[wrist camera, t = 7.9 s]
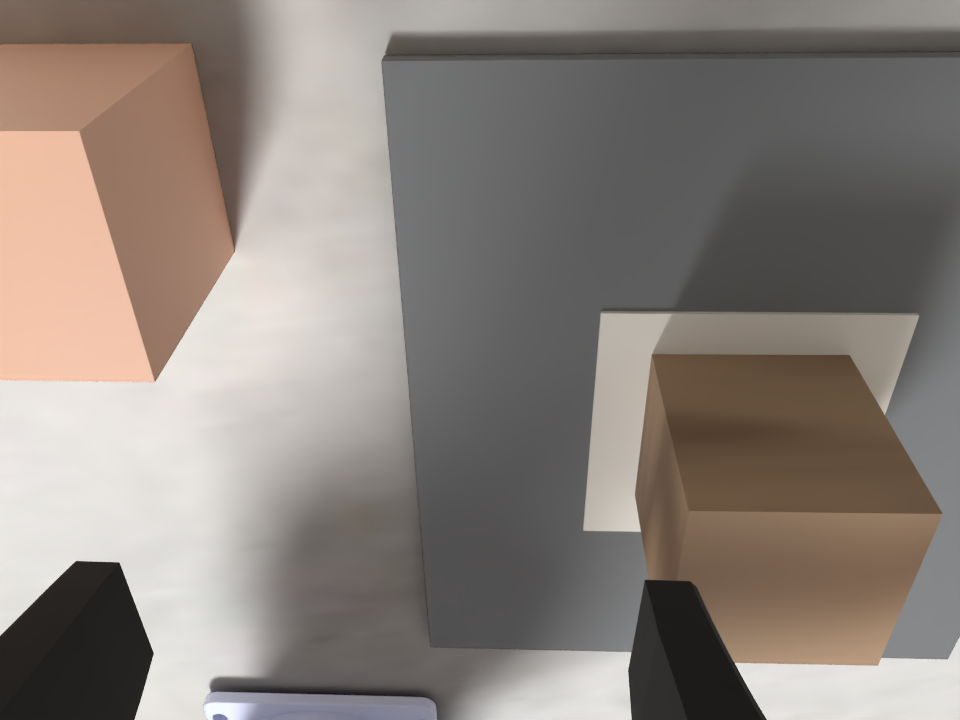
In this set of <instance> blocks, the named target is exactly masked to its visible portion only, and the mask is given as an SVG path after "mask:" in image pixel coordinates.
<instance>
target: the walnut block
mask: <svg viewBox="0 0 960 720" xmlns="http://www.w3.org/2000/svg"><path fill="white" fill-rule="evenodd" d="M635 499H636V505H637V511H638V517H639V523H640V530H641V536H642V542H643V548H644V554H645V560H646V566H647V572H648V578H649V580H670V581H691V582H692V583H693V584H694V585H695V586H696V587H697V588H698V591H699V593H700V595H701V597H702V600H703V602H704V604H705V606H706V608H707V610H708V612H709V614H710V617H711V619H712V621H713V623H714V625H715V627H716V629H717V631H718V633H719V635H720V637H721V639H722V641H723V643H724V645H725V646H726V648H727V650H728V652H729V654H730V656H731V658H732V660H733V661H734V663H777V664H826V665H875V666H878V664H879V661H880V659H881V657H882V654H883V652H884V650H885V647H886V645H887V643H888V640H889V638H890V636H891V633H892V631H893V629H894V626H895V624H896V622H897V619H898V617H899V615H900V613H901V610H902V608H903V606H904V603H905V601H906V599H907V596H908V594H909V592H910V589H911V587H912V585H913V582H914V580H915V578H916V575H917V573H918V571H919V568H920V566H921V564H922V561H923V559H924V557H925V554H926V552H927V550H928V547H929V545H930V543H931V540H932V538H933V536H934V534H935V531H936V529H937V527H938V524H939V522H940V520H941V517H942V515H943V513H942V512H941V510H940V508H939V507H938V505H937V503H936V502H935V500H934V498H933V496H932V495H931V493H930V491H929V490H928V488H927V486H926V484H925V483H924V481H923V479H922V478H921V476H920V474H919V473H918V471H917V469H916V467H915V466H914V464H913V462H912V461H911V459H910V457H909V455H908V454H907V452H906V450H905V449H904V447H903V445H902V444H901V442H900V440H899V438H898V437H897V435H896V433H895V432H894V430H893V428H892V426H891V425H890V423H889V421H888V420H887V418H886V416H885V415H884V413H883V411H882V409H881V408H880V406H879V404H878V403H877V401H876V399H875V397H874V396H873V394H872V392H871V391H870V389H869V387H868V386H867V384H866V382H865V380H864V379H863V377H862V375H861V374H860V372H859V370H858V368H857V367H856V365H855V363H854V362H853V360H852V358H851V357H850V355H725V354H652V356H651V364H650V372H649V381H648V389H647V397H646V406H645V414H644V422H643V430H642V439H641V447H640V455H639V463H638V472H637V480H636V488H635Z"/></svg>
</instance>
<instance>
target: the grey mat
mask: <svg viewBox="0 0 960 720" xmlns="http://www.w3.org/2000/svg"><path fill="white" fill-rule="evenodd" d="M382 73H383V85H384V97H385V109H386V121H387V133H388V145H389V157H390V169H391V181H392V193H393V205H394V217H395V229H396V241H397V253H398V265H399V277H400V289H401V301H402V313H403V325H404V336H405V348H406V360H407V372H408V384H409V396H410V408H411V420H412V432H413V444H414V456H415V468H416V480H417V492H418V504H419V516H420V528H421V540H422V552H423V564H424V576H425V588H426V600H427V612H428V624H429V636H430V647H442V648H485V649H528V650H571V651H614V652H632V648H633V642H634V637H635V631H636V626H637V620H638V614H639V609H640V603H641V598H642V592H643V587H644V581H645V580H649V578H648V572H647V566H646V560H645V554H644V548H643V542H642V536H641V530H640V523H639V517H638V511H637V505H636V499H635V488H636V480H637V472H638V463H639V455H640V447H641V439H642V430H643V422H644V414H645V406H646V397H647V389H648V381H649V372H650V364H651V356H652V354H725V355H850V357H851V358H852V360H853V362H854V363H855V365H856V367H857V368H858V370H859V372H860V374H861V375H862V377H863V379H864V380H865V382H866V384H867V386H868V387H869V389H870V391H871V392H872V394H873V396H874V397H875V399H876V401H877V403H878V404H879V406H880V408H881V409H882V411H883V413H884V415H885V416H886V418H887V420H888V421H889V423H890V425H891V426H892V428H893V430H894V432H895V433H896V435H897V437H898V438H899V440H900V442H901V444H902V445H903V447H904V449H905V450H906V452H907V454H908V455H909V457H910V459H911V461H912V462H913V464H914V466H915V467H916V469H917V471H918V473H919V474H920V476H921V478H922V479H923V481H924V483H925V484H926V486H927V488H928V490H929V491H930V493H931V495H932V496H933V498H934V500H935V502H936V503H937V505H938V507H939V508H940V510H941V512H942V513H943V515H942V517H941V520H940V522H939V524H938V527H937V529H936V531H935V534H934V536H933V538H932V540H931V543H930V545H929V547H928V550H927V552H926V554H925V557H924V559H923V561H922V564H921V566H920V568H919V571H918V573H917V575H916V578H915V580H914V582H913V585H912V587H911V589H910V592H909V594H908V596H907V599H906V601H905V603H904V606H903V608H902V610H901V613H900V615H899V617H898V619H897V622H896V624H895V626H894V629H893V631H892V633H891V636H890V638H889V640H888V643H887V645H886V647H885V650H884V652H883V654H882V657H881V658H913V659H948V658H949V656H950V654H951V652H952V650H953V648H954V646H955V644H956V642H957V640H958V639H959V637H960V52H845V53H693V54H542V55H391V56H384V57H383V59H382Z"/></svg>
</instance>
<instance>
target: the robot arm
mask: <svg viewBox="0 0 960 720" xmlns="http://www.w3.org/2000/svg"><path fill="white" fill-rule="evenodd" d="M153 654H154V653H153V650H152V648H151V645H150V642H149V640H148V637H147V635H146V632H145V629H144V627H143V624H142V621H141V619H140V616H139V613H138V611H137V608H136V605H135V603H134V600H133V597H132V595H131V592H130V590H129V587H128V584H127V582H126V579H125V576H124V574H123V571H122V568H121V566H120V563H116V562H85V561H76V562H75V563H74V564H73V565H72V566H70V567H69V568H68V569H67V570H66V571H65V572H64V573H63V574H62V575H61V576H60V577H59V578H58V579H57V580H56V581H55V582H54V583H53V584H52V585H51V586H50V587H49V588H48V589H47V590H46V591H45V592H44V593H43V594H42V595H41V596H40V597H39V598H38V599H37V600H36V601H35V602H34V603H33V604H32V605H31V606H30V607H29V608H28V609H27V610H26V611H25V612H24V613H23V614H22V615H21V616H20V617H19V618H18V619H17V620H16V621H15V622H14V623H13V624H12V625H11V626H10V627H9V628H8V629H7V630H6V631H5V632H4V633H3V634H2V635H1V636H0V720H134V719H135V716H136V712H137V709H138V706H139V703H140V700H141V696H142V693H143V690H144V686H145V682H146V679H147V675H148V672H149V668H150V665H151V661H152V657H153ZM628 672H629V686H630V700H631V714H632V720H766V718H765V716H764V715H763V713H762V711H761V710H760V708H759V706H758V705H757V703H756V701H755V699H754V698H753V696H752V694H751V692H750V691H749V689H748V687H747V685H746V684H745V682H744V680H743V678H742V676H741V674H740V673H739V671H738V669H737V667H736V665H735V663H734V661H733V660H732V658H731V656H730V654H729V652H728V650H727V648H726V646H725V645H724V643H723V641H722V639H721V637H720V635H719V633H718V631H717V629H716V627H715V625H714V623H713V621H712V619H711V617H710V614H709V612H708V610H707V608H706V606H705V604H704V602H703V600H702V597H701V595H700V593H699V591H698V588H697V587H696V586H695V585H694V584H693V583H692V582H691V581H670V580H645V581H644V587H643V592H642V598H641V603H640V609H639V614H638V620H637V626H636V631H635V637H634V642H633V648H632V653H631V659H630V664H629V670H628ZM203 709H204V711H205V714H206V717H207V720H437V711H436V705H435V703H434V702H433V701H432V700H431V699H428V698H425V697H404V696H365V695H327V694H288V693H249V692H212V693H210V694H208V695H207V696H206V698H205V701H204V704H203Z"/></svg>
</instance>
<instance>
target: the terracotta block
mask: <svg viewBox="0 0 960 720" xmlns="http://www.w3.org/2000/svg"><path fill="white" fill-rule="evenodd" d="M234 252H235V250H234V245H233V240H232V235H231V231H230V226H229V221H228V216H227V211H226V207H225V202H224V197H223V192H222V187H221V183H220V178H219V173H218V168H217V163H216V159H215V154H214V149H213V144H212V139H211V134H210V130H209V125H208V120H207V115H206V110H205V106H204V101H203V96H202V91H201V86H200V82H199V77H198V72H197V67H196V62H195V57H194V53H193V48H192V43H111V44H0V380H29V381H109V382H155V381H156V380H157V378H158V376H159V375H160V373H161V371H162V370H163V368H164V366H165V365H166V363H167V362H168V360H169V358H170V357H171V355H172V353H173V352H174V350H175V348H176V347H177V345H178V344H179V342H180V340H181V339H182V337H183V335H184V334H185V332H186V330H187V329H188V327H189V325H190V324H191V322H192V321H193V319H194V317H195V316H196V314H197V312H198V311H199V309H200V307H201V306H202V304H203V303H204V301H205V299H206V298H207V296H208V294H209V293H210V291H211V289H212V288H213V286H214V285H215V283H216V281H217V280H218V278H219V276H220V275H221V273H222V271H223V270H224V268H225V267H226V265H227V263H228V262H229V260H230V258H231V257H232V255H233V253H234Z"/></svg>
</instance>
